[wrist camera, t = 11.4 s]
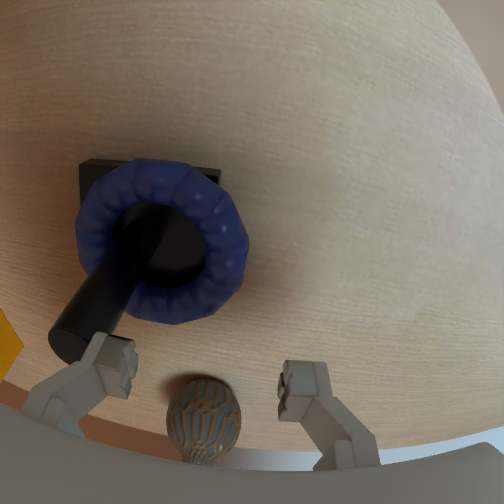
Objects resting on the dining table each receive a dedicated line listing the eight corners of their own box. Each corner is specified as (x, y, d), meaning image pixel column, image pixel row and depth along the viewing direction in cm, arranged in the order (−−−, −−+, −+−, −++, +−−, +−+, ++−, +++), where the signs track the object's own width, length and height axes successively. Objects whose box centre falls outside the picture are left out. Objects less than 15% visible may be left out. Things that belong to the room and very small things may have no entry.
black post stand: (89, 158, 18) (-35, 236, 8) (221, 169, 19) (180, 272, 9) (97, 273, 22) (25, 385, 12) (209, 290, 23) (182, 429, 13)
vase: (170, 365, 27) (150, 446, 19) (244, 372, 27) (241, 457, 20) (176, 404, 30) (163, 474, 23) (240, 410, 31) (237, 482, 23)
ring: (84, 150, 16) (64, 159, 14) (261, 168, 17) (262, 180, 15) (94, 293, 22) (82, 313, 19) (235, 318, 22) (233, 341, 20)
